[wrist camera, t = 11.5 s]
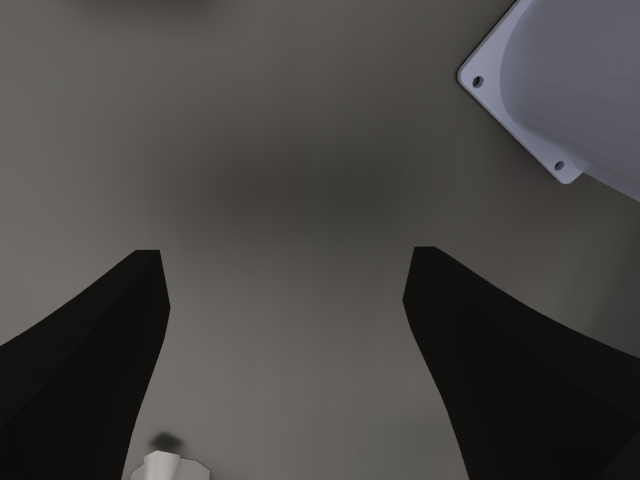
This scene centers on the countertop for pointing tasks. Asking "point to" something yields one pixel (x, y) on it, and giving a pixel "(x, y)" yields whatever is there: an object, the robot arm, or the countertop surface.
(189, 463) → the white bottle
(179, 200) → the countertop surface
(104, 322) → the robot arm
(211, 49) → the countertop surface
